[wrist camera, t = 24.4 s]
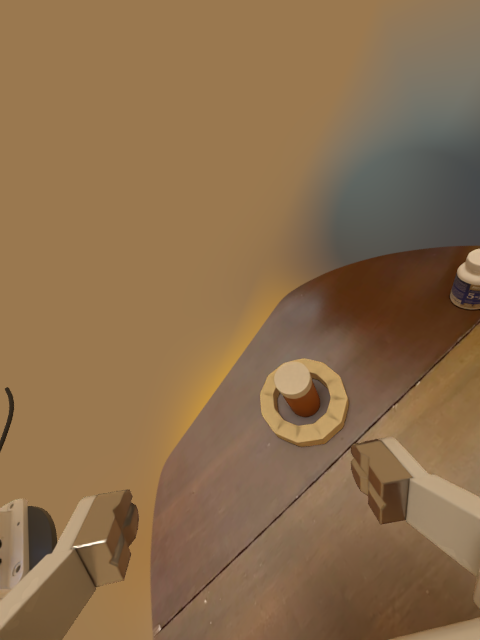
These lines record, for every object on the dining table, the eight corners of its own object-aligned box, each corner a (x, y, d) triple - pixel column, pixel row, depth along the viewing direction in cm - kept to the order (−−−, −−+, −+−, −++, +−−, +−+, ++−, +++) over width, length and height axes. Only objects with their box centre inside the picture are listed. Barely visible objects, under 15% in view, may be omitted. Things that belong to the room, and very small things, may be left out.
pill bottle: (462, 314, 40) (477, 273, 34) (442, 293, 44) (452, 253, 38) (501, 304, 39) (523, 259, 33) (476, 283, 42) (493, 240, 36)
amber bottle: (285, 413, 41) (269, 390, 35) (293, 384, 44) (279, 359, 38) (317, 421, 39) (305, 398, 32) (323, 390, 41) (313, 364, 35)
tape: (251, 398, 46) (246, 393, 44) (306, 352, 47) (303, 346, 45) (299, 466, 36) (295, 462, 34) (367, 405, 37) (367, 399, 36)
